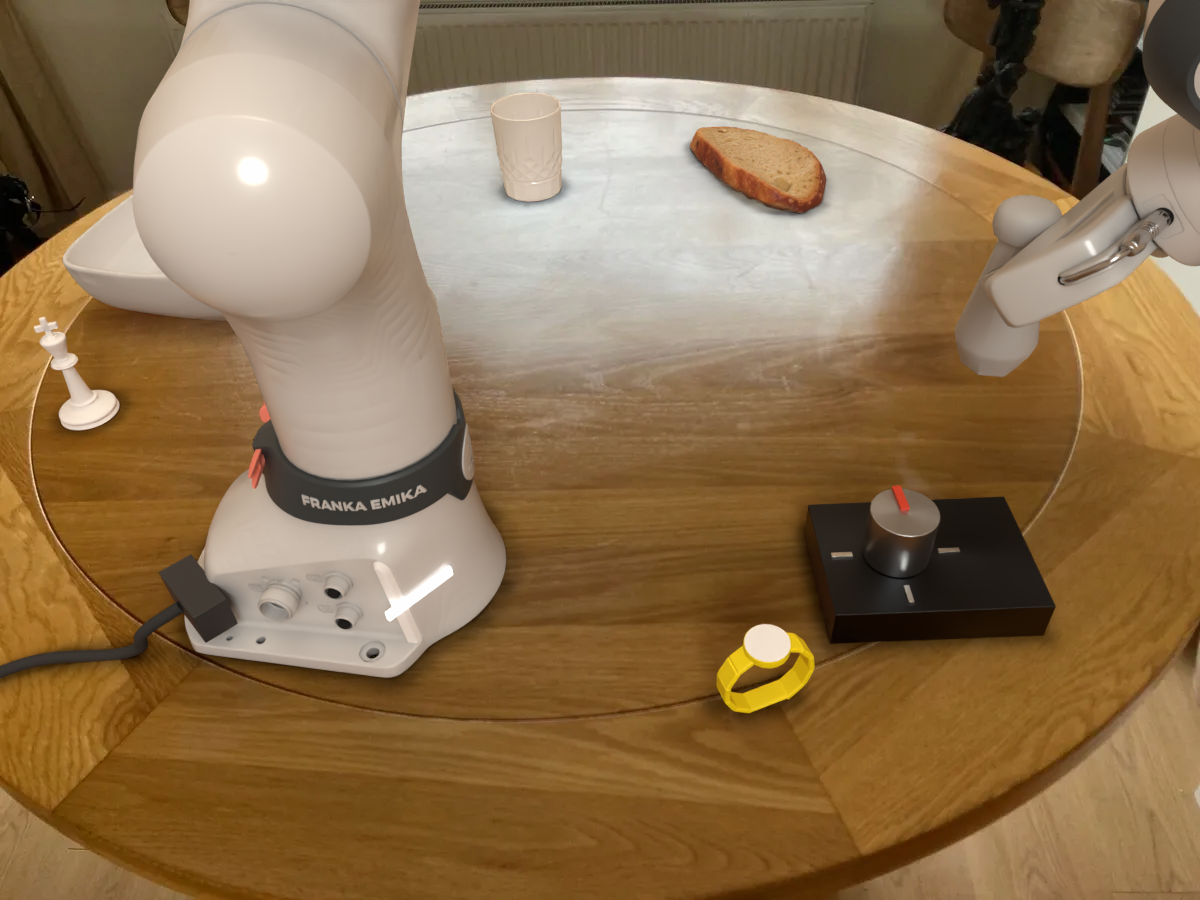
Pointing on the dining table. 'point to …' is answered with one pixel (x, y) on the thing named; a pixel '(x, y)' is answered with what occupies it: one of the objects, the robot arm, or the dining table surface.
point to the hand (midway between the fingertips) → (1003, 273)
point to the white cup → (529, 144)
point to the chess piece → (76, 385)
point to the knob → (900, 532)
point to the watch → (765, 651)
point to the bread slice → (762, 167)
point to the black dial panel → (929, 577)
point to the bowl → (127, 270)
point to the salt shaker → (980, 325)
